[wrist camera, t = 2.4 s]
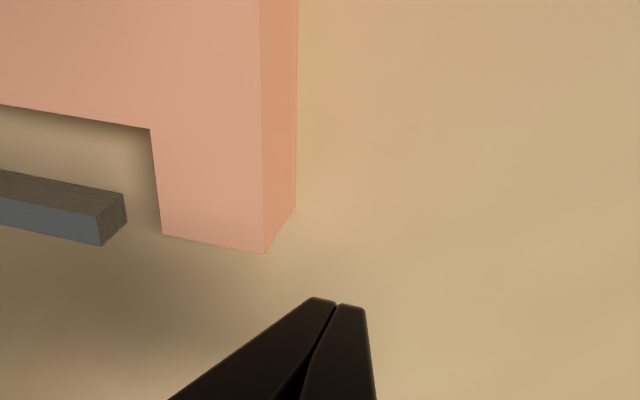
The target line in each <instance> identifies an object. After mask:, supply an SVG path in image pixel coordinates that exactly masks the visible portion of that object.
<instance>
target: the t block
mask: <svg viewBox="0 0 640 400" xmlns="http://www.w3.org/2000/svg"><path fill="white" fill-rule="evenodd" d="M297 51H298V0H0V104H4V105H10V106H16V107H22V108H28V109H34V110H40V111H46V112H52V113H58V114H64V115H69V116H75V117H81V118H87V119H93V120H99V121H105V122H111V123H117V124H123V125H129V126H135V127H141V128H147V129H150V135H151V144H152V152H153V160H154V168H155V176H156V185H157V193H158V201H159V209H160V217H161V226H162V234H164V235H169V236H174V237H178V238H183V239H188V240H193V241H197V242H202V243H207V244H211V245H216V246H221V247H226V248H230V249H235V250H240V251H244V252H249V253H254V254H259V255H263V256H264V254H265V253H266V251H267V250H268V248H269V247H270V245H271V243H272V242H273V240H274V239H275V237H276V236H277V234H278V233H279V231H280V230H281V228H282V226H283V225H284V223H285V222H286V220H287V219H288V217H289V216H290V214H291V213H292V211H293V209H294V208H295V190H296V120H297Z"/></svg>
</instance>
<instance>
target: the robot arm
mask: <svg viewBox="0 0 640 400" xmlns="http://www.w3.org/2000/svg"><path fill="white" fill-rule="evenodd" d="M168 400H377V398H376V390H375V383H374V375H373V367H372V360H371V352H370V344H369V337H368V329H367V321H366V314H365V310H364V309H363V308H361V307H357V306H353V305H348V304H344V303H341V304H339V305H338V306H337V304H336V303H335V302H334V301H330V300H326V299H321V298H317V297H312V298H309V299H307V300H306V301H305V302H303V303H302V304H300V305H299V306H298V307H296V308H295V309H293V310H292V311H291V312H289V313H288V314H286V315H285V316H284V317H282V318H281V319H279V320H278V321H277V322H275V323H274V324H273V325H271V326H270V327H268V328H267V329H266V330H264V331H263V332H261V333H260V334H259V335H257V336H256V337H254V338H253V339H252V340H250V341H249V342H247V343H246V344H245V345H243V346H242V347H240V348H239V349H238V350H236V351H235V352H233V353H232V354H231V355H229V356H228V357H226V358H225V359H224V360H222V361H221V362H219V363H218V364H217V365H215V366H214V367H212V368H211V369H210V370H208V371H207V372H206V373H204V374H203V375H201V376H200V377H199V378H197V379H196V380H194V381H193V382H192V383H190V384H189V385H187V386H186V387H185V388H183V389H182V390H180V391H179V392H178V393H176V394H175V395H173V396H172V397H171V398H169V399H168Z"/></svg>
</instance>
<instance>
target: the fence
mask: <svg viewBox="0 0 640 400" xmlns="http://www.w3.org/2000/svg"><path fill="white" fill-rule="evenodd" d="M126 223H127V219H126V213H125V206H124V200H123V194H121V193H116V192H111V191H106V190H101V189H96V188H91V187H86V186H80V185H75V184H70V183H65V182H60V181H55V180H50V179H45V178H40V177H35V176H30V175H25V174H20V173H15V172H10V171H5V170H0V224H2V225H7V226H11V227H16V228H20V229H24V230H29V231H33V232H38V233H42V234H47V235H51V236H56V237H60V238H65V239H69V240H74V241H78V242H83V243H87V244H91V245H96V246H100V247H101V246H102V245H103V244H105V243H106V242H107V241H108V240H109V239H110V238H111V237H112V236H113V235H114V234H115V233H116V232H117V231H118V230H119V229H120V228H122V227H123V226H124V225H125V224H126Z"/></svg>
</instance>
